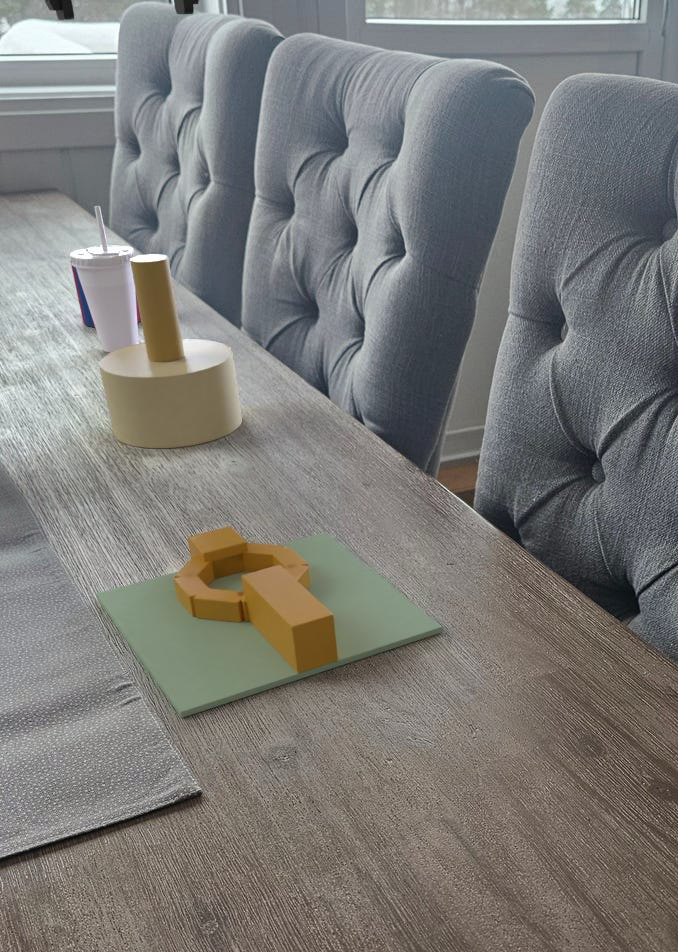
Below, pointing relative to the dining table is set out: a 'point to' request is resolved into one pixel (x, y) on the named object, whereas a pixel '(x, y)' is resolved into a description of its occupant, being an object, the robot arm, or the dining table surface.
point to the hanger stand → (168, 374)
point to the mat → (240, 643)
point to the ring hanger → (259, 595)
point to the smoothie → (109, 290)
